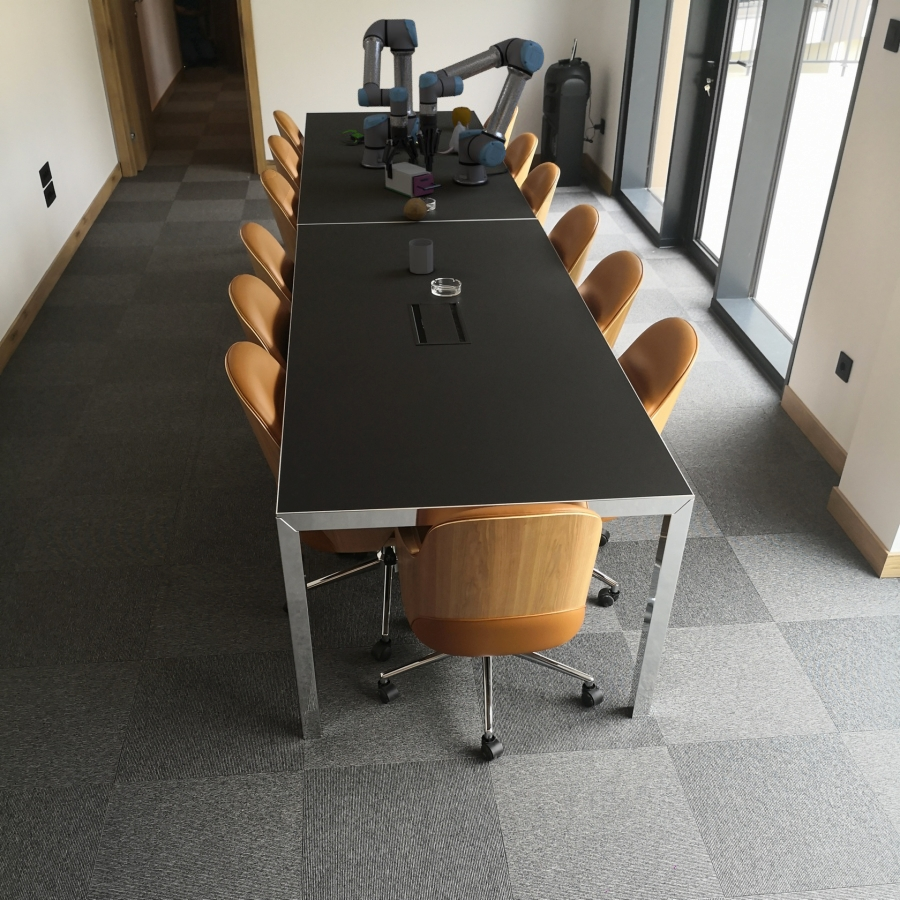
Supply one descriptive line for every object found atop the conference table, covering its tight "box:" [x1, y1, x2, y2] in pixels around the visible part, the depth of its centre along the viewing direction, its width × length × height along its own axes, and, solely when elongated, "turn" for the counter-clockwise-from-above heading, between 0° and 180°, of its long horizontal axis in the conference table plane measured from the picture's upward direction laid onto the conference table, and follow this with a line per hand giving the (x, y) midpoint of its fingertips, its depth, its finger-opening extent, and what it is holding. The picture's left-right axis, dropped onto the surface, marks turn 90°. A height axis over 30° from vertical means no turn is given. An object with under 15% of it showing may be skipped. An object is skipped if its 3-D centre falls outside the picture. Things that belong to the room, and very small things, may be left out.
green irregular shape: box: [340, 129, 365, 146], centre depth 465 cm, size 6×13×30 cm
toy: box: [437, 121, 470, 155], centre depth 440 cm, size 9×24×15 cm, turn 137°
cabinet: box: [384, 161, 432, 199], centre depth 389 cm, size 19×11×10 cm, turn 39°
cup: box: [408, 237, 434, 275], centre depth 305 cm, size 8×8×10 cm
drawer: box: [412, 173, 441, 197], centre depth 384 cm, size 23×10×8 cm, turn 39°
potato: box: [403, 197, 428, 221], centre depth 354 cm, size 10×14×8 cm
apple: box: [451, 105, 472, 129], centre depth 487 cm, size 11×11×13 cm
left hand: (400, 176), depth 392 cm, fingers closed on cabinet, 11 cm apart
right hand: (429, 171), depth 375 cm, fingers closed
